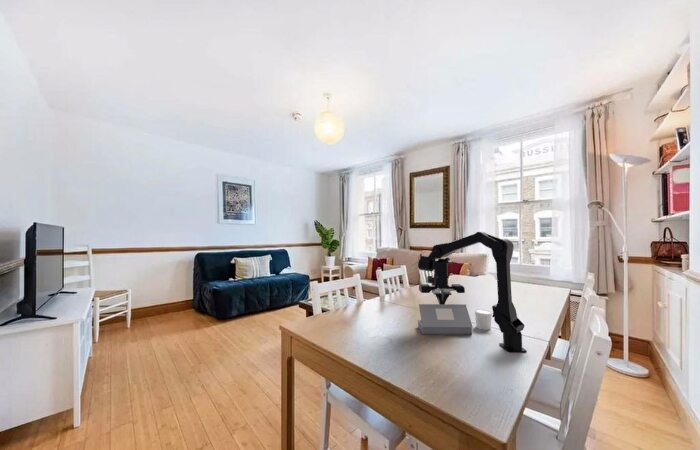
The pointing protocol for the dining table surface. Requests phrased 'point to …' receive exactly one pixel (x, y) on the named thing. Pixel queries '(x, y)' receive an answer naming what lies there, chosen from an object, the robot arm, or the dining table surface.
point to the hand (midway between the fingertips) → (441, 307)
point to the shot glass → (483, 319)
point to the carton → (443, 330)
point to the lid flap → (445, 315)
